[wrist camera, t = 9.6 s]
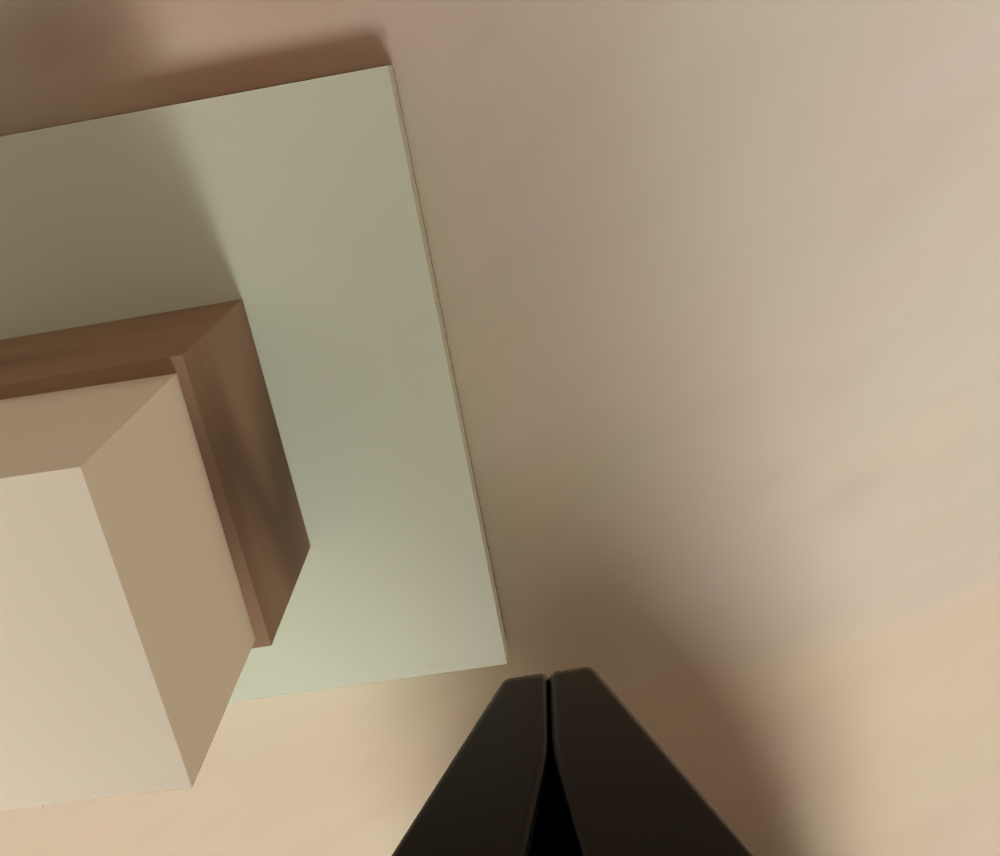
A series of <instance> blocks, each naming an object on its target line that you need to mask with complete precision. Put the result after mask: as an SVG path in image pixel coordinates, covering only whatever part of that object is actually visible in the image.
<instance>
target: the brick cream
mask: <svg viewBox="0 0 1000 856" xmlns="http://www.w3.org/2000/svg"><path fill="white" fill-rule="evenodd" d="M254 642H255V636H254V632H253V629H252V626H251V622H250V619H249V616H248V612H247V609H246V605H245V602H244V599H243V595H242V592H241V589H240V585H239V582H238V578H237V575H236V572H235V568H234V565H233V561H232V558H231V555H230V551H229V548H228V545H227V541H226V538H225V534H224V531H223V528H222V524H221V521H220V518H219V514H218V511H217V507H216V504H215V501H214V497H213V494H212V491H211V487H210V484H209V480H208V477H207V474H206V470H205V467H204V464H203V460H202V457H201V453H200V450H199V447H198V443H197V440H196V437H195V433H194V430H193V426H192V423H191V420H190V416H189V413H188V410H187V406H186V403H185V399H184V396H183V393H182V389H181V386H180V383H179V379H178V376H177V373H176V374H169V375H162V376H156V377H149V378H142V379H136V380H129V381H123V382H116V383H109V384H103V385H96V386H89V387H83V388H76V389H69V390H63V391H56V392H49V393H43V394H36V395H29V396H23V397H16V398H9V399H3V400H0V811H5V810H13V809H21V808H29V807H37V806H45V805H54V804H62V803H70V802H78V801H86V800H95V799H103V798H111V797H119V796H127V795H135V794H144V793H152V792H160V791H168V790H176V789H184V788H192V787H193V784H194V782H195V780H196V777H197V775H198V773H199V770H200V768H201V766H202V763H203V761H204V759H205V756H206V754H207V752H208V749H209V747H210V745H211V742H212V740H213V738H214V735H215V733H216V731H217V728H218V726H219V724H220V721H221V719H222V716H223V714H224V712H225V709H226V707H227V705H228V702H229V700H230V698H231V695H232V693H233V691H234V688H235V686H236V684H237V681H238V679H239V677H240V674H241V672H242V670H243V667H244V665H245V663H246V660H247V658H248V656H249V653H250V651H251V649H252V646H253V644H254Z"/></svg>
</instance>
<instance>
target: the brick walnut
mask: <svg viewBox="0 0 1000 856" xmlns="http://www.w3.org/2000/svg"><path fill="white" fill-rule="evenodd" d="M176 373H177V376H178V379H179V383H180V386H181V389H182V393H183V396H184V399H185V403H186V406H187V410H188V413H189V416H190V420H191V423H192V426H193V430H194V433H195V437H196V440H197V443H198V447H199V450H200V453H201V457H202V460H203V464H204V467H205V470H206V474H207V477H208V480H209V484H210V487H211V491H212V494H213V497H214V501H215V504H216V507H217V511H218V514H219V518H220V521H221V524H222V528H223V531H224V534H225V538H226V541H227V545H228V548H229V551H230V555H231V558H232V561H233V565H234V568H235V572H236V575H237V578H238V582H239V585H240V589H241V592H242V595H243V599H244V602H245V605H246V609H247V612H248V616H249V619H250V622H251V626H252V629H253V632H254V636H255V642H254V644H253V646H252V648H259V647H266V646H271V645H272V643H273V640H274V638H275V635H276V633H277V630H278V628H279V625H280V623H281V620H282V618H283V615H284V613H285V610H286V608H287V605H288V603H289V600H290V597H291V595H292V592H293V590H294V587H295V585H296V582H297V580H298V577H299V575H300V572H301V570H302V567H303V565H304V562H305V560H306V557H307V554H308V552H309V549H310V547H311V546H310V542H309V539H308V535H307V531H306V528H305V524H304V520H303V517H302V513H301V510H300V506H299V502H298V499H297V495H296V491H295V488H294V484H293V481H292V477H291V473H290V470H289V466H288V462H287V459H286V455H285V452H284V448H283V444H282V441H281V437H280V433H279V430H278V426H277V423H276V419H275V415H274V412H273V408H272V404H271V401H270V397H269V393H268V390H267V386H266V383H265V379H264V375H263V372H262V368H261V364H260V361H259V357H258V354H257V350H256V346H255V343H254V339H253V335H252V332H251V328H250V325H249V321H248V317H247V314H246V310H245V306H244V303H243V299H240V300H234V301H228V302H222V303H216V304H210V305H205V306H199V307H193V308H187V309H181V310H175V311H169V312H163V313H157V314H151V315H145V316H139V317H133V318H128V319H122V320H116V321H110V322H104V323H98V324H92V325H86V326H80V327H74V328H68V329H62V330H56V331H51V332H45V333H39V334H33V335H27V336H21V337H15V338H9V339H3V340H0V400H3V399H9V398H16V397H23V396H29V395H36V394H43V393H49V392H56V391H63V390H69V389H76V388H83V387H89V386H96V385H103V384H109V383H116V382H123V381H129V380H136V379H142V378H149V377H156V376H162V375H169V374H176Z"/></svg>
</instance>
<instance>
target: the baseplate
mask: <svg viewBox="0 0 1000 856" xmlns="http://www.w3.org/2000/svg"><path fill="white" fill-rule="evenodd" d="M240 299H243V303H244V306H245V310H246V314H247V317H248V321H249V325H250V328H251V332H252V335H253V339H254V343H255V346H256V350H257V354H258V357H259V361H260V364H261V368H262V372H263V375H264V379H265V383H266V386H267V390H268V393H269V397H270V401H271V404H272V408H273V412H274V415H275V419H276V423H277V426H278V430H279V433H280V437H281V441H282V444H283V448H284V452H285V455H286V459H287V462H288V466H289V470H290V473H291V477H292V481H293V484H294V488H295V491H296V495H297V499H298V502H299V506H300V510H301V513H302V517H303V520H304V524H305V528H306V531H307V535H308V539H309V542H310V546H311V547H310V549H309V552H308V554H307V557H306V560H305V562H304V565H303V567H302V570H301V572H300V575H299V577H298V580H297V582H296V585H295V587H294V590H293V592H292V595H291V597H290V600H289V603H288V605H287V608H286V610H285V613H284V615H283V618H282V620H281V623H280V625H279V628H278V630H277V633H276V635H275V638H274V640H273V643H272V645H271V646H266V647H259V648H252V649H251V651H250V653H249V656H248V658H247V660H246V663H245V665H244V667H243V670H242V672H241V674H240V677H239V679H238V681H237V684H236V686H235V688H234V691H233V693H232V695H231V698H230V700H229V702H228V703H232V702H239V701H246V700H253V699H260V698H268V697H275V696H282V695H289V694H296V693H303V692H311V691H318V690H325V689H332V688H339V687H346V686H354V685H361V684H368V683H375V682H382V681H389V680H396V679H404V678H411V677H418V676H425V675H432V674H439V673H447V672H454V671H461V670H468V669H475V668H482V667H490V666H497V665H504V664H507V642H506V637H505V632H504V627H503V622H502V617H501V612H500V607H499V602H498V597H497V592H496V587H495V582H494V577H493V572H492V566H491V561H490V556H489V551H488V546H487V541H486V536H485V531H484V526H483V521H482V516H481V511H480V506H479V501H478V496H477V491H476V486H475V481H474V476H473V471H472V466H471V460H470V455H469V450H468V445H467V440H466V435H465V430H464V425H463V420H462V415H461V410H460V405H459V400H458V395H457V390H456V385H455V380H454V375H453V370H452V365H451V360H450V354H449V349H448V344H447V339H446V334H445V329H444V324H443V319H442V314H441V309H440V304H439V299H438V294H437V289H436V284H435V279H434V274H433V269H432V264H431V259H430V254H429V248H428V243H427V238H426V233H425V228H424V223H423V218H422V213H421V208H420V203H419V198H418V193H417V188H416V183H415V178H414V173H413V168H412V163H411V158H410V153H409V148H408V142H407V137H406V132H405V127H404V122H403V117H402V112H401V107H400V102H399V97H398V92H397V87H396V82H395V77H394V72H393V67H392V65H387V66H381V67H376V68H370V69H365V70H360V71H354V72H349V73H343V74H338V75H332V76H327V77H321V78H316V79H311V80H305V81H300V82H294V83H289V84H283V85H278V86H273V87H267V88H262V89H256V90H251V91H245V92H240V93H234V94H229V95H224V96H218V97H213V98H207V99H202V100H196V101H191V102H186V103H180V104H175V105H169V106H164V107H158V108H153V109H147V110H142V111H137V112H131V113H126V114H120V115H115V116H109V117H104V118H99V119H93V120H88V121H82V122H77V123H71V124H66V125H60V126H55V127H50V128H44V129H39V130H33V131H28V132H22V133H17V134H12V135H6V136H1V137H0V340H3V339H9V338H15V337H21V336H27V335H33V334H39V333H45V332H51V331H56V330H62V329H68V328H74V327H80V326H86V325H92V324H98V323H104V322H110V321H116V320H122V319H128V318H133V317H139V316H145V315H151V314H157V313H163V312H169V311H175V310H181V309H187V308H193V307H199V306H205V305H210V304H216V303H222V302H228V301H234V300H240Z"/></svg>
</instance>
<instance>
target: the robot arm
mask: <svg viewBox="0 0 1000 856" xmlns="http://www.w3.org/2000/svg"><path fill="white" fill-rule="evenodd" d="M392 856H755V855H754V854H753V853H752V851H751V850H750V849H749V848H748V847H747V846H746V845H745V843H744V842H743V841H742V840H741V839H740V838H739V836H738V835H737V834H736V833H735V832H734V831H733V830H732V828H731V827H730V826H729V825H728V824H727V823H726V821H725V820H724V819H723V818H722V817H721V816H720V815H719V813H718V812H717V811H716V810H715V809H714V808H713V806H712V805H711V804H710V803H709V802H708V801H707V800H706V798H705V797H704V796H703V795H702V794H701V793H700V791H699V790H698V789H697V788H696V787H695V786H694V784H693V783H692V782H691V781H690V780H689V779H688V778H687V776H686V775H685V774H684V773H683V772H682V771H681V769H680V768H679V767H678V766H677V765H676V764H675V763H674V761H673V760H672V759H671V758H670V757H669V756H668V754H667V753H666V752H665V751H664V750H663V749H662V748H661V746H660V745H659V744H658V743H657V742H656V741H655V739H654V738H653V737H652V736H651V735H650V734H649V732H648V731H647V730H646V729H645V728H644V727H643V726H642V724H641V723H640V722H639V721H638V720H637V719H636V717H635V716H634V715H633V714H632V713H631V712H630V711H629V709H628V708H627V707H626V706H625V705H624V704H623V702H622V701H621V700H620V699H619V698H618V697H617V696H616V694H615V693H614V692H613V691H612V690H611V689H610V687H609V686H608V685H607V684H606V683H605V682H604V681H603V679H602V678H601V677H600V676H599V675H598V674H597V672H596V671H594V670H593V669H592V668H590V667H584V668H577V669H570V670H563V671H556V672H554V673H553V674H551V676H550V678H549V679H548V677H547V676H546V675H544V674H536V675H529V676H522V677H515V678H509V679H507V680H505V681H504V682H503V683H502V684H501V686H500V687H499V689H498V691H497V692H496V694H495V695H494V697H493V698H492V700H491V702H490V703H489V705H488V706H487V708H486V709H485V711H484V712H483V714H482V716H481V717H480V719H479V720H478V722H477V723H476V725H475V726H474V728H473V730H472V731H471V733H470V734H469V736H468V737H467V739H466V740H465V742H464V744H463V745H462V747H461V748H460V750H459V751H458V753H457V755H456V756H455V758H454V759H453V761H452V762H451V764H450V765H449V767H448V769H447V770H446V772H445V773H444V775H443V776H442V778H441V779H440V781H439V783H438V784H437V786H436V787H435V789H434V790H433V792H432V793H431V795H430V797H429V798H428V800H427V801H426V803H425V804H424V806H423V808H422V809H421V811H420V812H419V814H418V815H417V817H416V818H415V820H414V822H413V823H412V825H411V826H410V828H409V829H408V831H407V832H406V834H405V836H404V837H403V839H402V840H401V842H400V843H399V845H398V846H397V848H396V850H395V851H394V853H393V854H392Z"/></svg>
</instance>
